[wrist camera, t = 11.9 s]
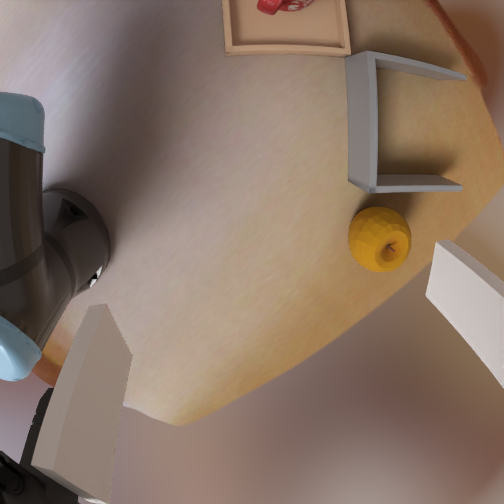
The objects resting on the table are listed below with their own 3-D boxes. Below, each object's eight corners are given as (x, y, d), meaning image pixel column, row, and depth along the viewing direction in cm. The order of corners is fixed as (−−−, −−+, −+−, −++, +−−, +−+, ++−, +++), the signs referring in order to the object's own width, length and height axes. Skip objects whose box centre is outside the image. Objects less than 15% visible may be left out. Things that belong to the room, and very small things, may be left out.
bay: (348, 180, 37) (368, 193, 32) (344, 57, 30) (366, 50, 24) (437, 179, 38) (461, 191, 33) (439, 75, 31) (465, 75, 25)
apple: (398, 222, 41) (431, 248, 33) (360, 262, 43) (387, 294, 35) (367, 184, 38) (401, 205, 30) (325, 229, 40) (351, 259, 32)
